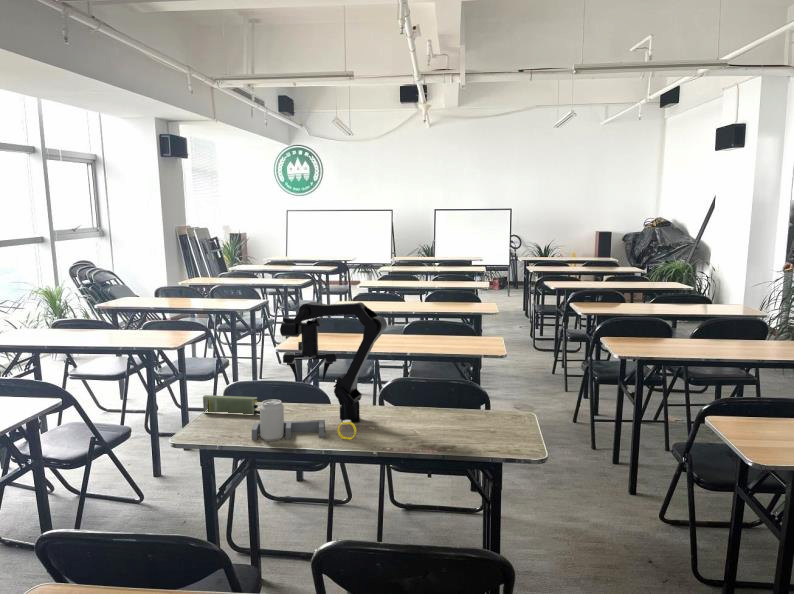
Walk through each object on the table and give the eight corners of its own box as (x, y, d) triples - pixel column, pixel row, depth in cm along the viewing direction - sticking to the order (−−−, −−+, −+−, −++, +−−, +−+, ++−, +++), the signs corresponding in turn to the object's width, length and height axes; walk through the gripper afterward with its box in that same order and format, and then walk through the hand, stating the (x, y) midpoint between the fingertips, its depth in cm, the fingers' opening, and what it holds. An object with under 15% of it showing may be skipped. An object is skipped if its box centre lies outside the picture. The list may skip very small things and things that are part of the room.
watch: (337, 440, 184) (335, 422, 184) (340, 437, 187) (338, 419, 187) (355, 440, 183) (353, 422, 183) (357, 437, 186) (356, 419, 185)
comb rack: (324, 429, 193) (324, 418, 193) (325, 437, 186) (324, 424, 186) (254, 432, 190) (254, 420, 190) (251, 440, 183) (251, 427, 183)
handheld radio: (206, 411, 214) (271, 414, 210) (202, 414, 211) (268, 417, 207) (205, 394, 213) (270, 397, 209) (201, 397, 210) (267, 399, 206)
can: (255, 439, 184) (254, 402, 183) (272, 432, 191) (271, 396, 190) (272, 443, 181) (271, 406, 179) (289, 436, 187) (288, 400, 186)
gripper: (335, 333, 214) (335, 374, 216) (284, 334, 212) (285, 376, 214) (336, 338, 203) (336, 382, 205) (282, 339, 201) (283, 383, 203)
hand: (310, 380), depth 207 cm, fingers open, 9 cm apart
